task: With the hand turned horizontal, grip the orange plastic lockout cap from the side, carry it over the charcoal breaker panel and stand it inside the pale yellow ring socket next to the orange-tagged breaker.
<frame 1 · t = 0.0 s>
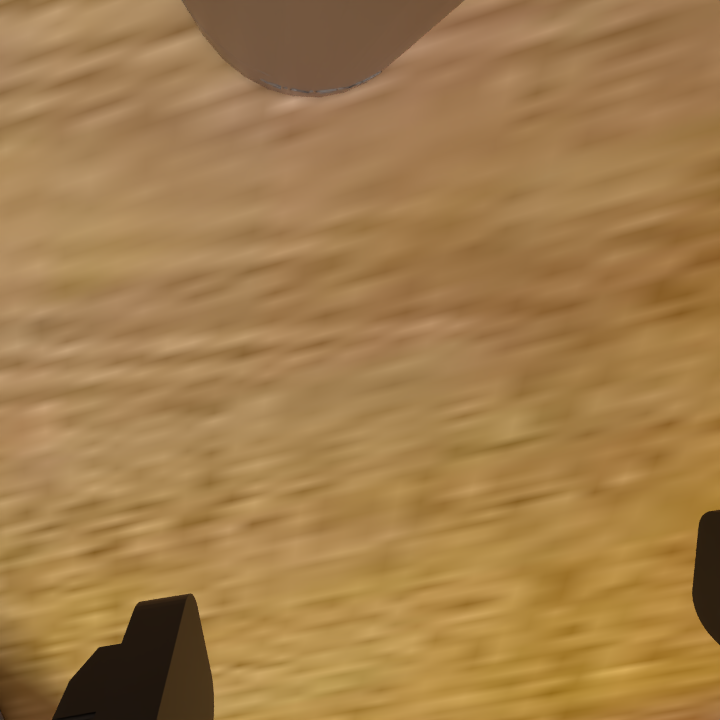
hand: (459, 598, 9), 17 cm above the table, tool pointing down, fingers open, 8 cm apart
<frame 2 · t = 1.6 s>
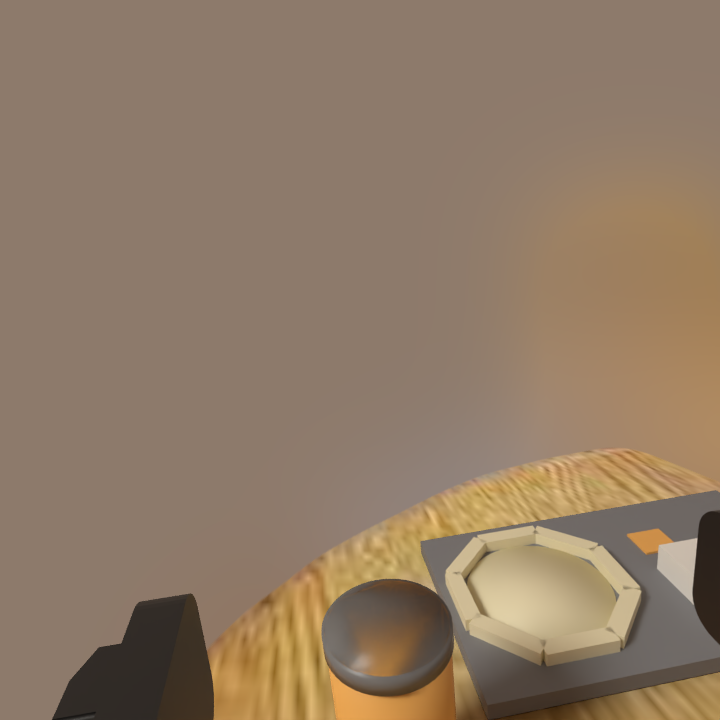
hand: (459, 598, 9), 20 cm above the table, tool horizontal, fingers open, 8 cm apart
breaker panel: (626, 586, 36), on the table
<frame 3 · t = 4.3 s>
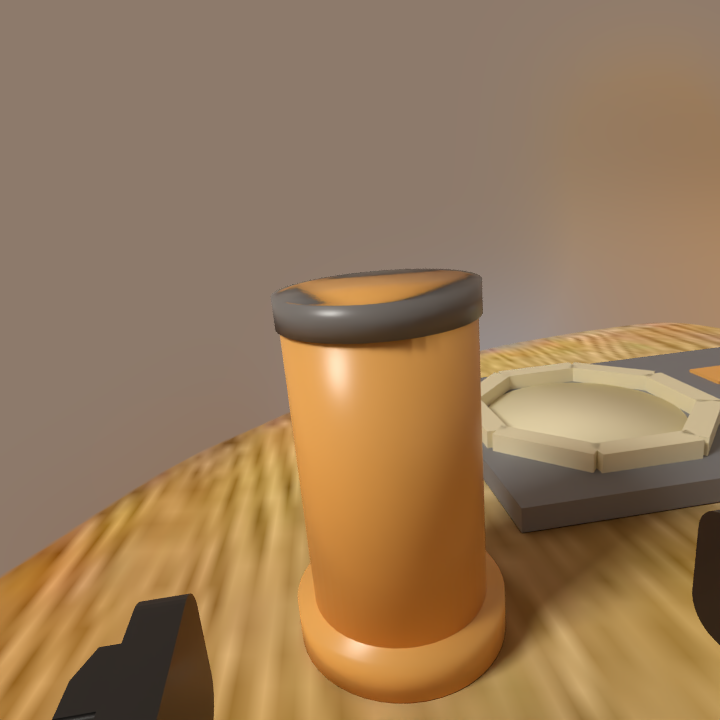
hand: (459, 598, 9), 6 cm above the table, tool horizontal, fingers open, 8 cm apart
lockout cap: (402, 615, 17), on the table
breaker panel: (694, 417, 28), on the table
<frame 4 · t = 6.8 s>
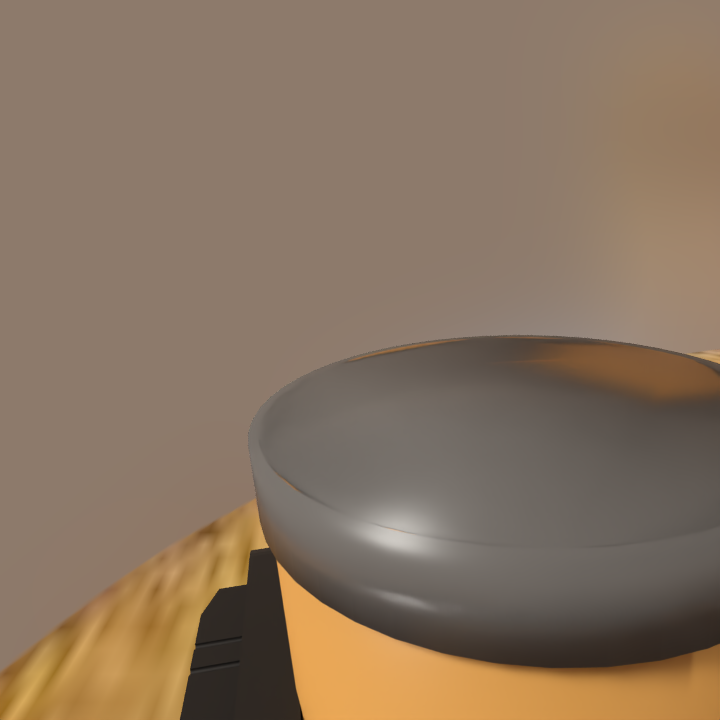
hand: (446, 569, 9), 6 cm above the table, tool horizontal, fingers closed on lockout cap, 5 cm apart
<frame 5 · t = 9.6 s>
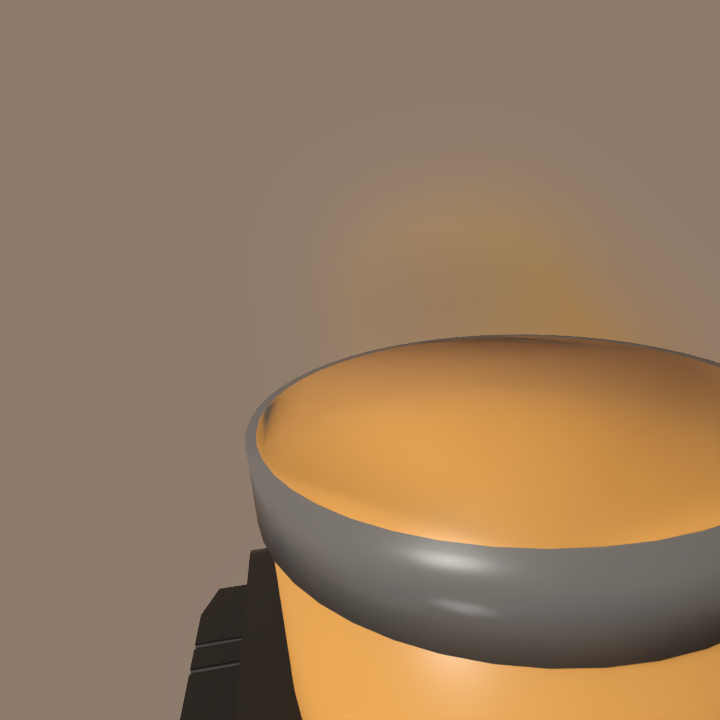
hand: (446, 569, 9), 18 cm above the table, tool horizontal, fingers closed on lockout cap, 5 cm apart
when the fingers open (9 cm above the table, at t = 12.5 s): lockout cap drops 2 cm, resting on breaker panel.
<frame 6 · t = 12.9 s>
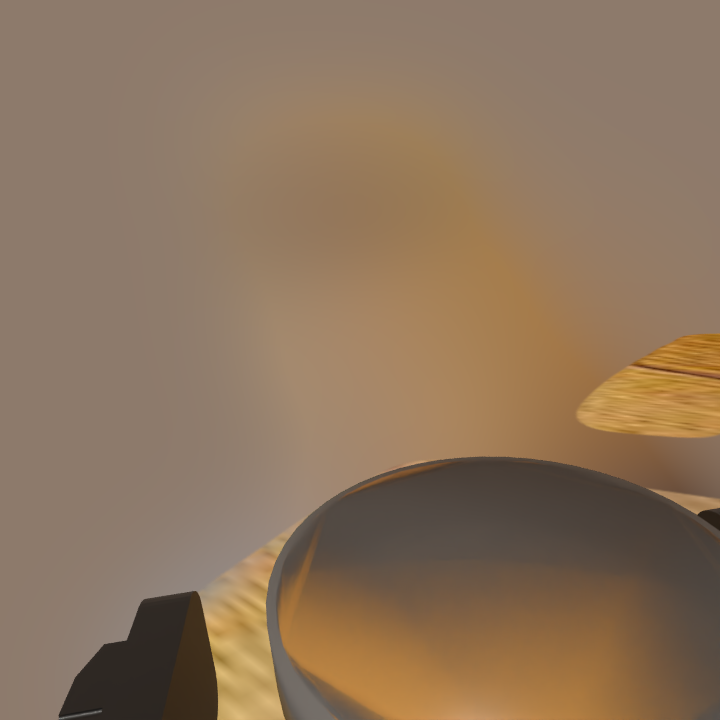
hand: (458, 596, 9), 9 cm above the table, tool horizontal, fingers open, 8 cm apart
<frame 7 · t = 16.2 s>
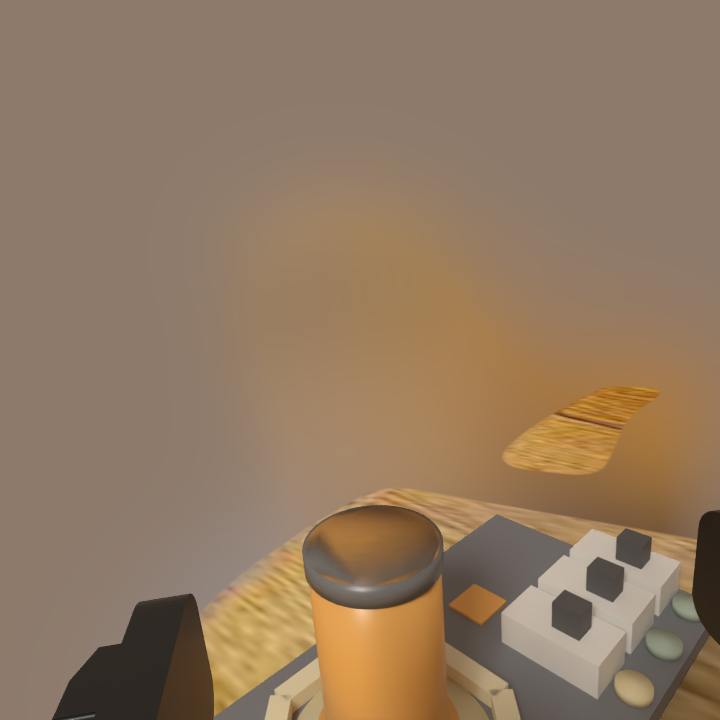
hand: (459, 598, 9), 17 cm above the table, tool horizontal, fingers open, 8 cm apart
breaker panel: (477, 682, 27), on the table
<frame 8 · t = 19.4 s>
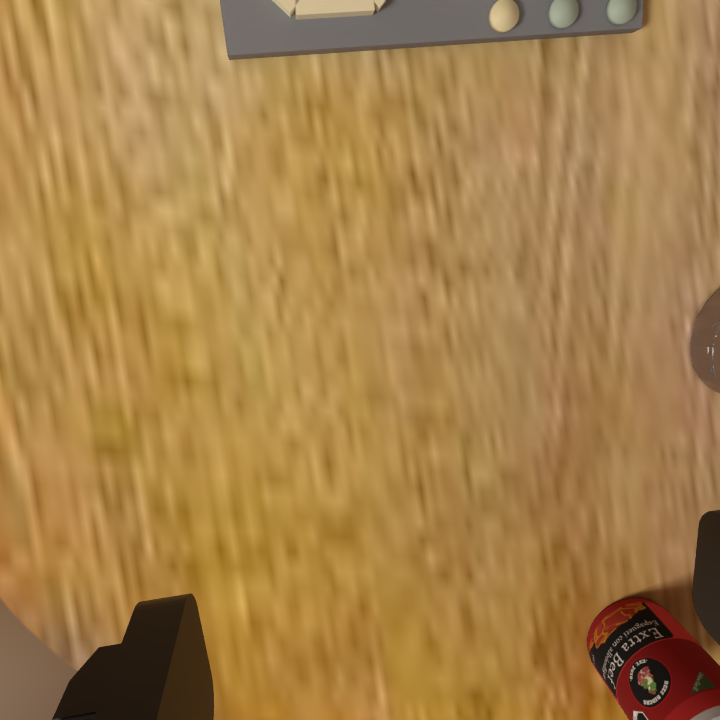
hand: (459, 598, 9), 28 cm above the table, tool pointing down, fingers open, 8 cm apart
canned food: (625, 632, 47), on the table
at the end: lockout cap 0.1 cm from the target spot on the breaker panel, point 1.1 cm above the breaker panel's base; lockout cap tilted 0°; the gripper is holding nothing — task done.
